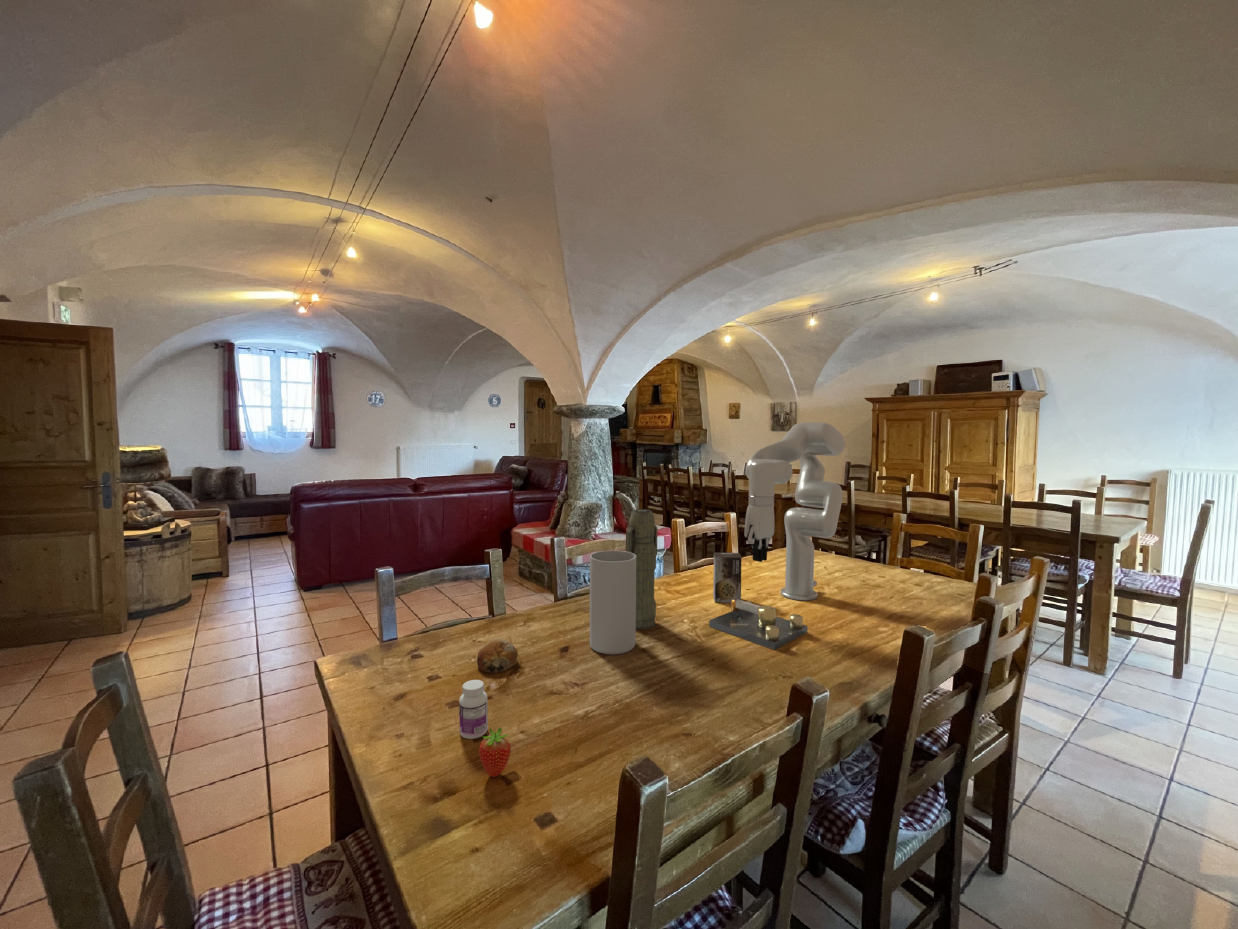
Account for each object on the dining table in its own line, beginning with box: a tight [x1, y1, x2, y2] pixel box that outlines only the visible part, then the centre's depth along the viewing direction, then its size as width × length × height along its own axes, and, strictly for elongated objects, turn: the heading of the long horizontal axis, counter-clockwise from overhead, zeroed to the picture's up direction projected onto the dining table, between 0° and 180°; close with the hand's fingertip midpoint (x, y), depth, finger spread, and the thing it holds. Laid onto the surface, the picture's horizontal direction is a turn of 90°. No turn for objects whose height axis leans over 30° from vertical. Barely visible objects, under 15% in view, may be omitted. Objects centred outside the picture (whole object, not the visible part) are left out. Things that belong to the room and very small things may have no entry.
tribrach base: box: [708, 601, 809, 651], centre depth 153 cm, size 18×22×5 cm
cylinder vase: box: [589, 550, 637, 655], centre depth 141 cm, size 12×12×25 cm
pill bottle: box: [458, 679, 489, 740], centre depth 101 cm, size 5×5×10 cm
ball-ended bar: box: [730, 599, 777, 629], centre depth 155 cm, size 15×5×5 cm, turn 42°
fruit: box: [478, 727, 511, 778], centre depth 88 cm, size 5×5×8 cm
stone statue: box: [625, 508, 658, 631], centre depth 156 cm, size 9×12×35 cm
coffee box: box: [712, 552, 742, 604], centre depth 179 cm, size 9×6×16 cm
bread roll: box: [476, 638, 519, 674], centre depth 130 cm, size 10×10×8 cm
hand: (759, 560), depth 160 cm, fingers closed
